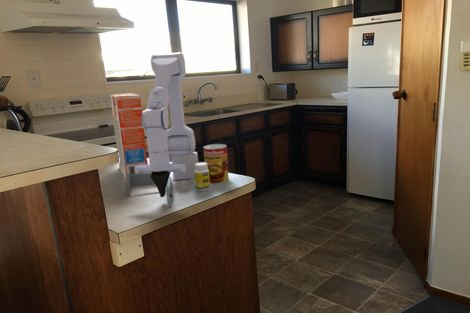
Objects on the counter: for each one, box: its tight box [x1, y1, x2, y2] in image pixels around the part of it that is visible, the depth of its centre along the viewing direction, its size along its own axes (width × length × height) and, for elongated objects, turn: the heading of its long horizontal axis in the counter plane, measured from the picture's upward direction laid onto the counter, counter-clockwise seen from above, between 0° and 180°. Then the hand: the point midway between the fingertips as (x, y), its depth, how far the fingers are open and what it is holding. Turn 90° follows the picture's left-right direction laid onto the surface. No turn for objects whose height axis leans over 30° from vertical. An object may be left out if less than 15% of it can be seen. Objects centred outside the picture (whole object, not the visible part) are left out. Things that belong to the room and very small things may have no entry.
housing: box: [124, 173, 171, 197], centre depth 123 cm, size 14×10×4 cm
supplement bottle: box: [194, 161, 211, 192], centre depth 120 cm, size 5×5×8 cm
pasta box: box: [109, 92, 149, 180], centre depth 144 cm, size 23×8×30 cm, turn 23°
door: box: [165, 176, 174, 208], centre depth 113 cm, size 14×2×4 cm, turn 7°
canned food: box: [203, 143, 229, 185], centre depth 129 cm, size 8×8×12 cm
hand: (163, 196), depth 110 cm, fingers closed
